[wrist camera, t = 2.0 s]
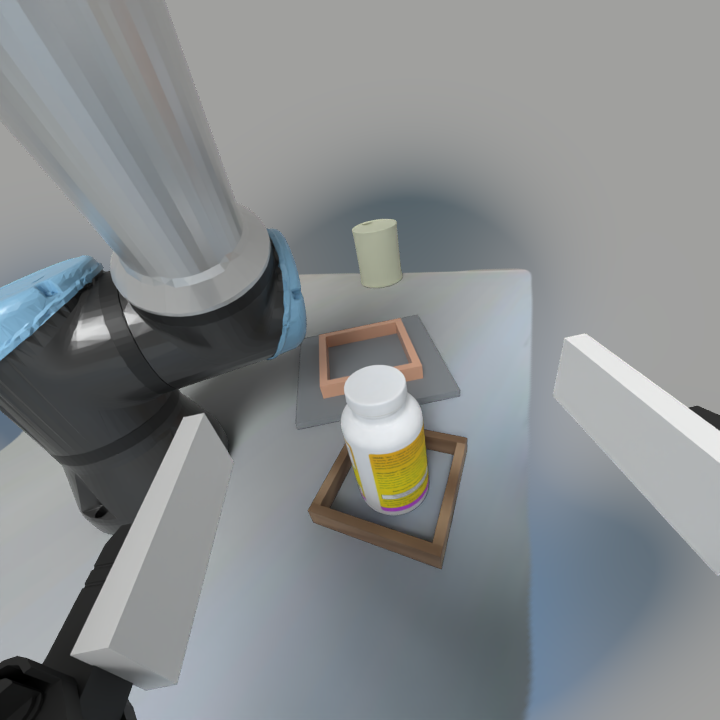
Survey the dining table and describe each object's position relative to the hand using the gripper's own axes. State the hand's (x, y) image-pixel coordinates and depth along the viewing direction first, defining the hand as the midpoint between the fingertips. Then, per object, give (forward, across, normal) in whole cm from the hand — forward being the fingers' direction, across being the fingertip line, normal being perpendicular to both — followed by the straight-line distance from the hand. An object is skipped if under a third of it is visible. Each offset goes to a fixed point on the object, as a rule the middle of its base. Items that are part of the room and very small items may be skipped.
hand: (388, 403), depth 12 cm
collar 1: (+30, 0, -20) cm, 36 cm away
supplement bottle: (+10, 0, -20) cm, 22 cm away
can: (+61, +7, -20) cm, 64 cm away
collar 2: (+10, 0, -20) cm, 22 cm away
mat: (+30, 0, -20) cm, 36 cm away
